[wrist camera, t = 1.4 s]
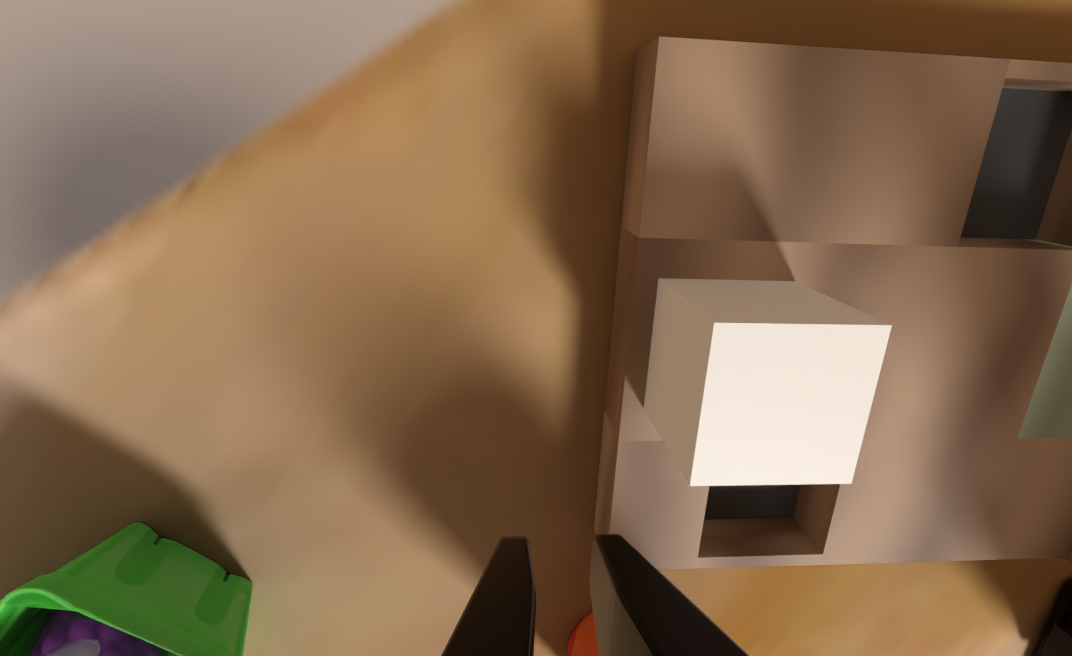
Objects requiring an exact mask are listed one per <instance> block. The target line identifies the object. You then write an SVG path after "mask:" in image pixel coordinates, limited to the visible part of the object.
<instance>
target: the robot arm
mask: <svg viewBox="0 0 1072 656" xmlns="http://www.w3.org/2000/svg"><path fill="white" fill-rule="evenodd" d="M589 584H590V596H591V603H592V610H593V617H594V623H595V630H596V637H597V644H598V651H599V656H749V655H748V654H747V653H746V652H745V651H744V650H743V649H742V648H741V647H739V646H738V645H737V644H736V643H735V642H734V641H733V640H732V639H731V638H730V637H729V636H728V635H727V634H726V633H725V632H724V631H722V630H721V629H720V628H719V627H718V626H717V625H716V624H715V623H714V622H713V621H712V620H711V619H710V618H709V617H708V616H707V615H705V614H704V613H703V612H702V611H701V610H700V609H699V608H698V607H697V606H696V605H695V604H694V603H693V602H692V601H691V600H690V599H688V598H687V597H686V596H685V595H684V594H683V593H682V592H681V591H680V590H679V589H678V588H677V587H676V586H675V585H674V584H673V583H671V582H670V581H669V580H668V579H667V578H666V577H665V576H664V575H663V574H662V573H661V572H660V571H659V570H658V569H657V568H656V567H654V566H653V565H652V564H651V563H650V562H649V561H648V560H647V559H646V558H645V557H644V556H643V555H642V554H641V553H640V552H639V551H638V550H636V549H635V548H634V547H633V546H632V545H631V544H630V543H629V542H628V541H627V540H626V539H625V538H624V537H623V536H621V535H619V534H598V535H596V536H595V537H594V539H593V543H592V554H591V565H590V577H589ZM535 616H536V588H535V581H534V574H533V568H532V561H531V555H530V548H529V542H528V539H527V538H526V537H525V536H508V537H502V538H501V539H500V541H499V543H498V545H497V546H496V548H495V550H494V552H493V554H492V556H491V558H490V560H489V562H488V564H487V566H486V568H485V570H484V572H483V574H482V576H481V578H480V580H479V582H478V584H477V586H476V588H475V590H474V592H473V594H472V596H471V598H470V600H469V602H468V604H467V606H466V608H465V610H464V612H463V614H462V616H461V618H460V620H459V622H458V624H457V625H456V627H455V629H454V631H453V633H452V635H451V637H450V639H449V641H448V643H447V645H446V647H445V649H444V651H443V653H442V655H441V656H533V655H534V635H535ZM1035 656H1072V581H1070V582H1068V583H1067V584H1066V585H1065V587H1064V589H1063V591H1062V594H1061V596H1060V598H1059V601H1058V603H1057V605H1056V608H1055V610H1054V612H1053V615H1052V617H1051V620H1050V622H1049V624H1048V627H1047V629H1046V631H1045V634H1044V636H1043V638H1042V641H1041V643H1040V646H1039V648H1038V650H1037V653H1036V655H1035Z"/></svg>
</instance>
